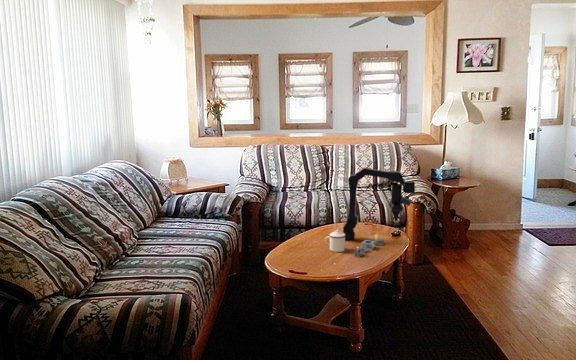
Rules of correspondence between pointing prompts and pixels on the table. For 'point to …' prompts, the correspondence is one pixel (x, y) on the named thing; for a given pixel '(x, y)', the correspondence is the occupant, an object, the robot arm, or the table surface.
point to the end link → (369, 244)
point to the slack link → (363, 249)
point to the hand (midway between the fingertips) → (395, 218)
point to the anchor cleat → (358, 252)
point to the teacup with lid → (336, 241)
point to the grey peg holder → (377, 242)
